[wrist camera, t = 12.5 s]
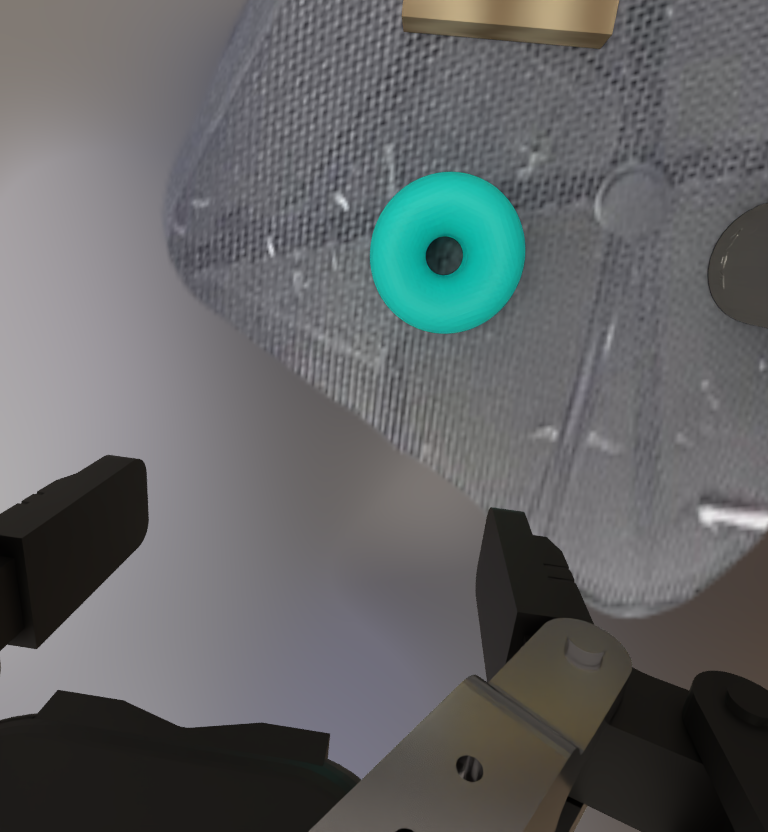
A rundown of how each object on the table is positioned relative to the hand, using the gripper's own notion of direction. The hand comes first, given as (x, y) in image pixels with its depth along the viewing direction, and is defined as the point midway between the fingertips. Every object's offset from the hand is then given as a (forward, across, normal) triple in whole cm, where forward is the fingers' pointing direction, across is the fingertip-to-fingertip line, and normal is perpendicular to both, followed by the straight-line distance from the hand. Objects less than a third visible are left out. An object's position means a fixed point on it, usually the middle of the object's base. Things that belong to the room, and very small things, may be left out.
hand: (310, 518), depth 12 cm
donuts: (+33, -3, -6) cm, 34 cm away
